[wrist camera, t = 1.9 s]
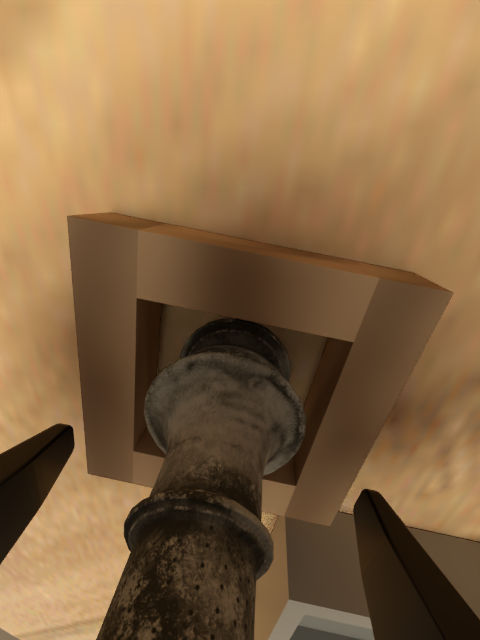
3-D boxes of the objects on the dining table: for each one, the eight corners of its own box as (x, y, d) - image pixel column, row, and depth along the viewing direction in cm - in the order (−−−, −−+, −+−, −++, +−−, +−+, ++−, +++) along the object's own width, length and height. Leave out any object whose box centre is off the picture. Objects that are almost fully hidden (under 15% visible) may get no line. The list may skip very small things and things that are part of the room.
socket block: (413, 272, 11) (453, 293, 8) (321, 478, 15) (329, 526, 13) (110, 212, 11) (67, 216, 8) (114, 433, 16) (88, 473, 13)
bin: (499, 546, 16) (576, 663, 12) (406, 638, 22) (438, 740, 18) (284, 500, 17) (288, 599, 12) (244, 602, 22) (239, 694, 18)
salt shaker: (307, 319, 12) (804, 1917, 1) (287, 423, 14) (346, 1185, 3) (172, 305, 12) (-733, 1287, 1) (175, 408, 14) (-114, 1050, 4)
